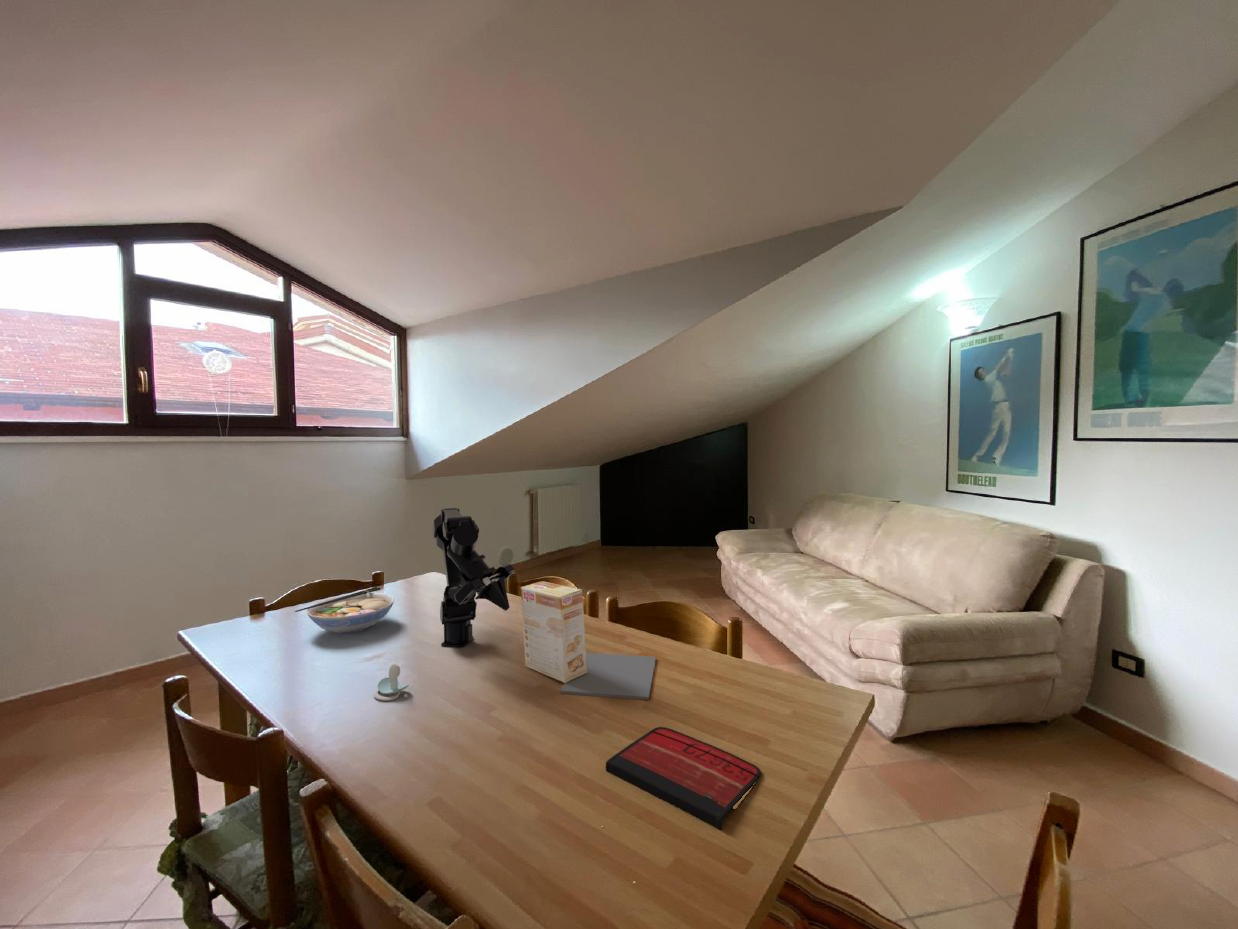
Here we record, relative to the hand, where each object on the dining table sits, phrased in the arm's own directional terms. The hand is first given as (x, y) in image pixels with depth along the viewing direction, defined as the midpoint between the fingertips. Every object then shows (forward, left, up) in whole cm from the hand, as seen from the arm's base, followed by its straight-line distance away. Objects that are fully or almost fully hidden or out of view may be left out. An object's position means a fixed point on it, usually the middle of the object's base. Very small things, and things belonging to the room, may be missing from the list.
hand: (507, 609), depth 122 cm
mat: (+26, -2, -14) cm, 29 cm away
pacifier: (-20, -18, -14) cm, 30 cm away
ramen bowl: (-54, +16, -14) cm, 58 cm away
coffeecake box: (+13, -2, -13) cm, 18 cm away
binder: (+44, -34, -14) cm, 57 cm away
